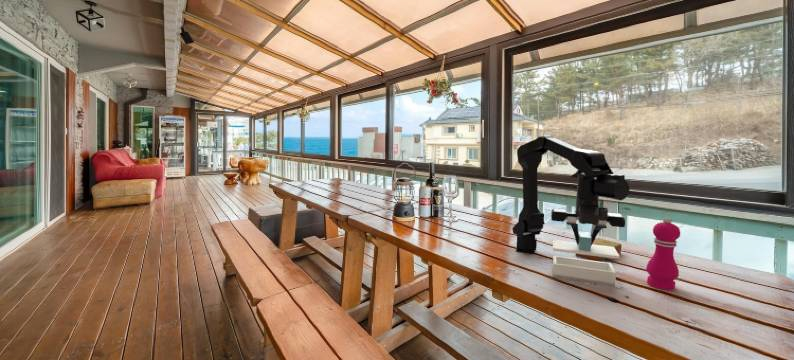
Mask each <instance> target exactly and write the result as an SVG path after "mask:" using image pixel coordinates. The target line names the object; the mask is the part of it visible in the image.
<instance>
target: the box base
mask: <svg viewBox="0 0 794 360" xmlns="http://www.w3.org/2000/svg"><path fill="white" fill-rule="evenodd" d="M552 256H553V257H552V277H553V278H560V279H566V280H573V281H578V282H585V283H591V284H597V285H604V286H610V287H615V286H616V278H617V272H616V269H615V268H614V265H613V264H612V263H611V262H605V261H602V262H599V261H592V260H589V259H585V258H575V257H568V256H560V255H559V256H558V255H552Z"/></svg>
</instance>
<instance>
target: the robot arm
mask: <svg viewBox="0 0 794 360" xmlns="http://www.w3.org/2000/svg"><path fill="white" fill-rule="evenodd" d="M548 152H551V153H553V154H555V155H557V156H559V157H561V158H563V159H565V160H567V161H568V162H569V163H570V165H571V166H572V167H574V168H575V169H576V170H577V171H576V172H574V173H573V174H571V178H575V179H577V186H576V201H575V212H567V210H566V209H563V208H552V209H551V215H550V220H551V221H553V222H562V223H563V222H566V225H568V226H570V227H571V229H572V232H573V234H574V239H575V242H576V243H577V245H578V244H579V236H578V232H579V224H582V225H585V224H587V225H591V229H590V235H591V238H592V240H591V246H592V244H593V242H594V240H595V239H597V236H598V234H599V233H600V232H601V231H602V230H603V229H607V227H608V226H607V224H609V225H610V226H611V227H615V228H625V227H626V226H625V225H626V218H624V217H623V215H622V214H621V213H614V212H608V211H609V210H608V207H601V206H600V207H599V200H600V199H599V198H600V197H601V198H606V199H611V200H615V201H623V200H625V199H627V197H628V195H629V193H630V186H629V183H628V181H627V180H626V179H625V178H626V175H624V174H614V172H613V170H612V169H611V167H610V165H609V163H608V162H607V160H606V157H605V156H606V155H605V154H604V153H603V152H601V151H598V150H597V151H596V150H591V149H583V148H578V147H577V146H574V145H571V144H569V143H567V142H564V140H560V139H558V138H556V137H554V136H553V135H539V136H538V137H537V138H535V139H533V140H530V141H528V142H526V143H523V144H521V145H520V146H519V147H518V148H517V150H516V156H517V162H518V164H519V166H520V167H521V169H522V209H521V210H520V212H519V214H518V221H517V223H516V224H515V225H514V226H513V227H512V228H511V229H512V234H513V235H516V247H515V252H519V253H520V252H521V253H527V254H535V251H537V247H538V246H537V244H538V243H537V242H538V239H537V237H536V236H537V235H540V234H541V232H542V229H544V225H545V224H546V223H545V213H544V212H541V211H540V209H539V207H538V206H539V201H538V200H539V199H538V198H539V196H538V195H539V194H538V192H539V191H538V188H539V187H538V169H539V167H540V164H541V163H542V160H543V155H545V154H546V153H548ZM578 222H579V224H578Z"/></svg>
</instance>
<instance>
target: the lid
mask: <svg viewBox="0 0 794 360" xmlns="http://www.w3.org/2000/svg"><path fill="white" fill-rule="evenodd" d="M578 236H579V244H578V245H577V243H576V241H575V242H574V241H568V240H567V241H566V240H558V239H552V251H553V252H560V253H561V252H562V253H570V254H574V255H576V254H583V255H591V256H599V257H607V258H609V259H614V260H615V259H617V260H619V259H620V258H621V256H620V254H618V253H617V251H616V250H615V248H614V247H611V246H602V245H594V244H592V246H591V240H592V238H591V232H589V231H588V232H586V231H578Z"/></svg>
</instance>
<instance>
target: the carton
mask: <svg viewBox="0 0 794 360" xmlns="http://www.w3.org/2000/svg"><path fill="white" fill-rule="evenodd" d="M593 244H594V245H602V246H611V247H614V248H615V250H616V251H617V253H618V254H619V255H620V254H622V245H623V244H622V243H620V242H616V241H613V240H608V239H603V238H600V237H598V238H597V237H596V238H595V240H594V242H593ZM575 256H576V257H580V258H581V259H584V260H591V261H599V262H605V261H606V260H609V259H610V258H607V257H599V256H591V255H583V254H575Z"/></svg>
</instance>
